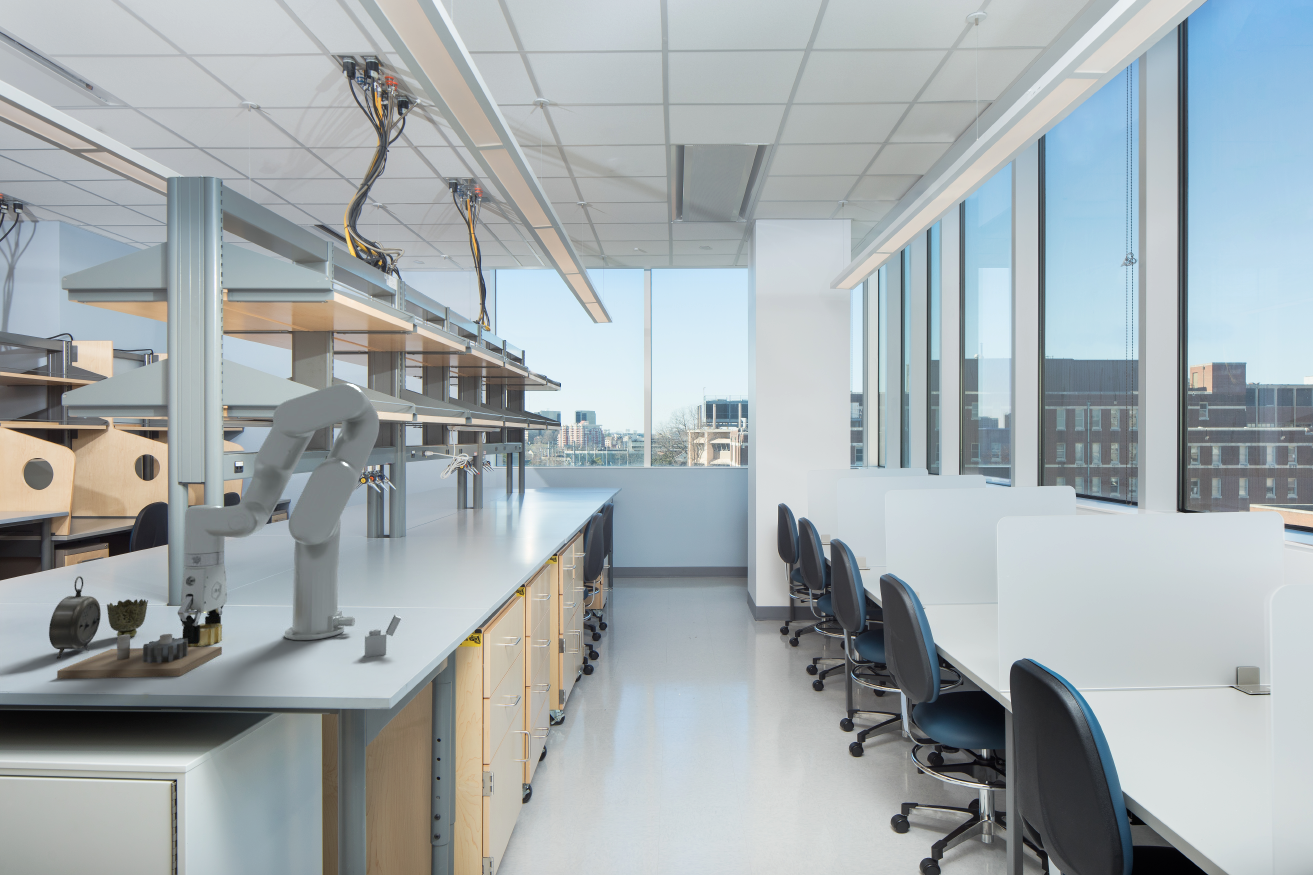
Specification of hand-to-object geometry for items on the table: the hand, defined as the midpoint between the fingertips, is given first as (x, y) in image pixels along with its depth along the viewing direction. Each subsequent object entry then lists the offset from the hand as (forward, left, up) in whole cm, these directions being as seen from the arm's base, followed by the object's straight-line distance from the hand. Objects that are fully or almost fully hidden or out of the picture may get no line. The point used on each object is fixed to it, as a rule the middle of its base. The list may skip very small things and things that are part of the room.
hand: (202, 637), depth 149 cm
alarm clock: (+22, +6, -1) cm, 23 cm away
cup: (+20, -6, -1) cm, 21 cm away
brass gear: (0, 0, -1) cm, 1 cm away
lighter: (-43, +11, -1) cm, 44 cm away
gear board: (+2, +16, -1) cm, 16 cm away
